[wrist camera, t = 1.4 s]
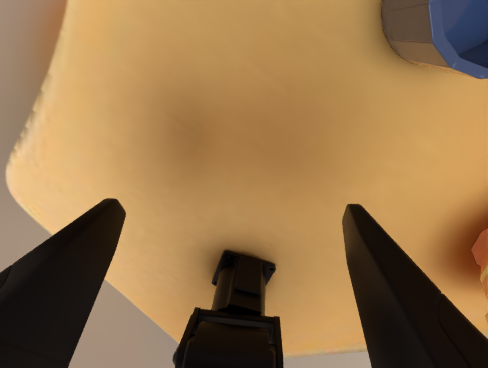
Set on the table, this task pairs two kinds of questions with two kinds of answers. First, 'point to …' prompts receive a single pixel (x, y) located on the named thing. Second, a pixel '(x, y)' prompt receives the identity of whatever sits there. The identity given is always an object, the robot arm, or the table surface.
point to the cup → (440, 34)
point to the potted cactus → (482, 259)
